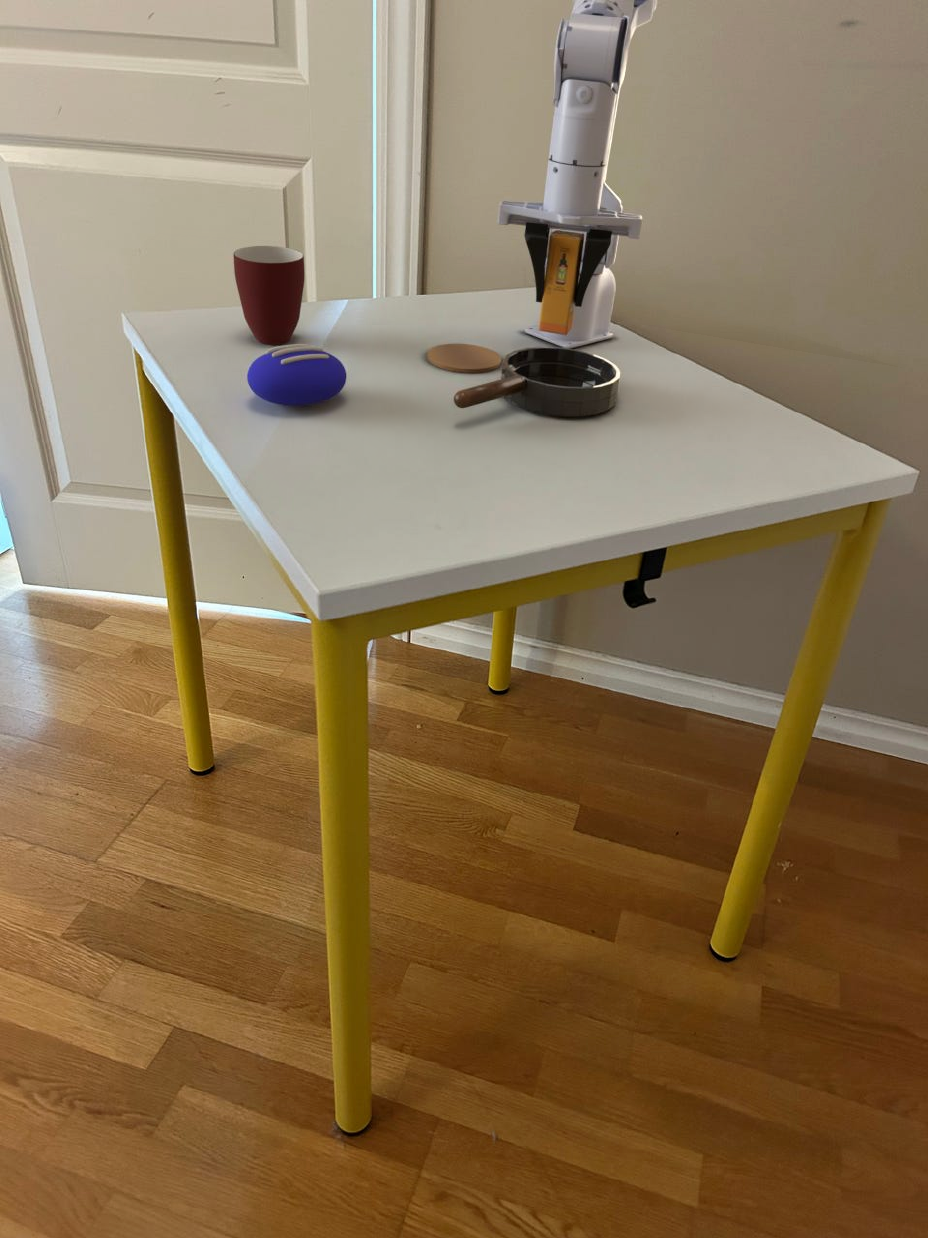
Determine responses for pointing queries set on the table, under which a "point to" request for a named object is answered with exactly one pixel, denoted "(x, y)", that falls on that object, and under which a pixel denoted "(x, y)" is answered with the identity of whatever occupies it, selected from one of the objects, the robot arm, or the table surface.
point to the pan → (562, 381)
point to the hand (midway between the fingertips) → (558, 301)
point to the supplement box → (561, 281)
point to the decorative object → (296, 375)
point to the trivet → (464, 358)
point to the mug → (270, 290)
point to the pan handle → (489, 391)
